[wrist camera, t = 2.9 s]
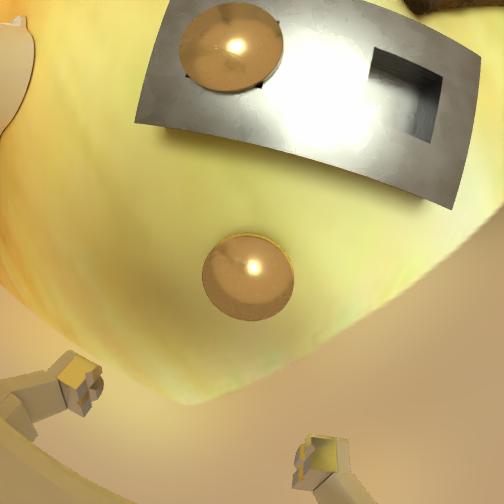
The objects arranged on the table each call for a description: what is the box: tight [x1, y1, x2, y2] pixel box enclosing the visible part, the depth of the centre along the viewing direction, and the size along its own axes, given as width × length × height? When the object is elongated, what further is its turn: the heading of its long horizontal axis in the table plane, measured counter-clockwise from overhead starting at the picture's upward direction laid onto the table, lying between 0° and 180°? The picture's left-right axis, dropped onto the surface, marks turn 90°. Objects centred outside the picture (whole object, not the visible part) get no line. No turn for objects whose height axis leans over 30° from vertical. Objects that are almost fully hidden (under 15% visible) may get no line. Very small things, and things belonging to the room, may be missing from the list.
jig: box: [134, 0, 481, 210], centre depth 17 cm, size 22×12×6 cm, turn 76°
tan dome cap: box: [202, 233, 294, 321], centre depth 23 cm, size 6×6×5 cm
